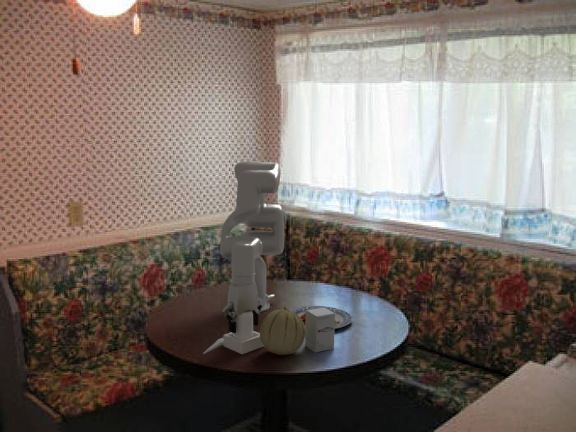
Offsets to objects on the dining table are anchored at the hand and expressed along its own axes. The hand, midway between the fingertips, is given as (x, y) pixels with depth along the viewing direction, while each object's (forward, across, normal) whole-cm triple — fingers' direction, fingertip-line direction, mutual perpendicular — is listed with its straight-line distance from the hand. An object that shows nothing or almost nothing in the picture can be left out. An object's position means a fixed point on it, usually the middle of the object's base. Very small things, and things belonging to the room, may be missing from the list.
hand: (243, 328), depth 193 cm
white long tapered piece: (+7, +7, -6) cm, 11 cm away
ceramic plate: (+7, -36, +2) cm, 36 cm away
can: (+6, 0, 0) cm, 6 cm away
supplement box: (+6, -18, +18) cm, 26 cm away
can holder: (+6, 0, 0) cm, 6 cm away
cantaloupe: (+6, -5, +13) cm, 16 cm away
